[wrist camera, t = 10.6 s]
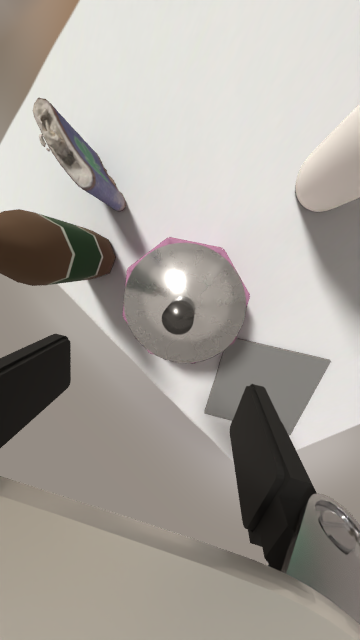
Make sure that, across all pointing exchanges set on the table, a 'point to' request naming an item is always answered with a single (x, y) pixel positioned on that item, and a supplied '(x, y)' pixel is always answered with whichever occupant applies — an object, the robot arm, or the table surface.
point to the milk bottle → (332, 168)
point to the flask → (76, 155)
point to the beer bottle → (50, 250)
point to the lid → (184, 302)
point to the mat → (265, 379)
